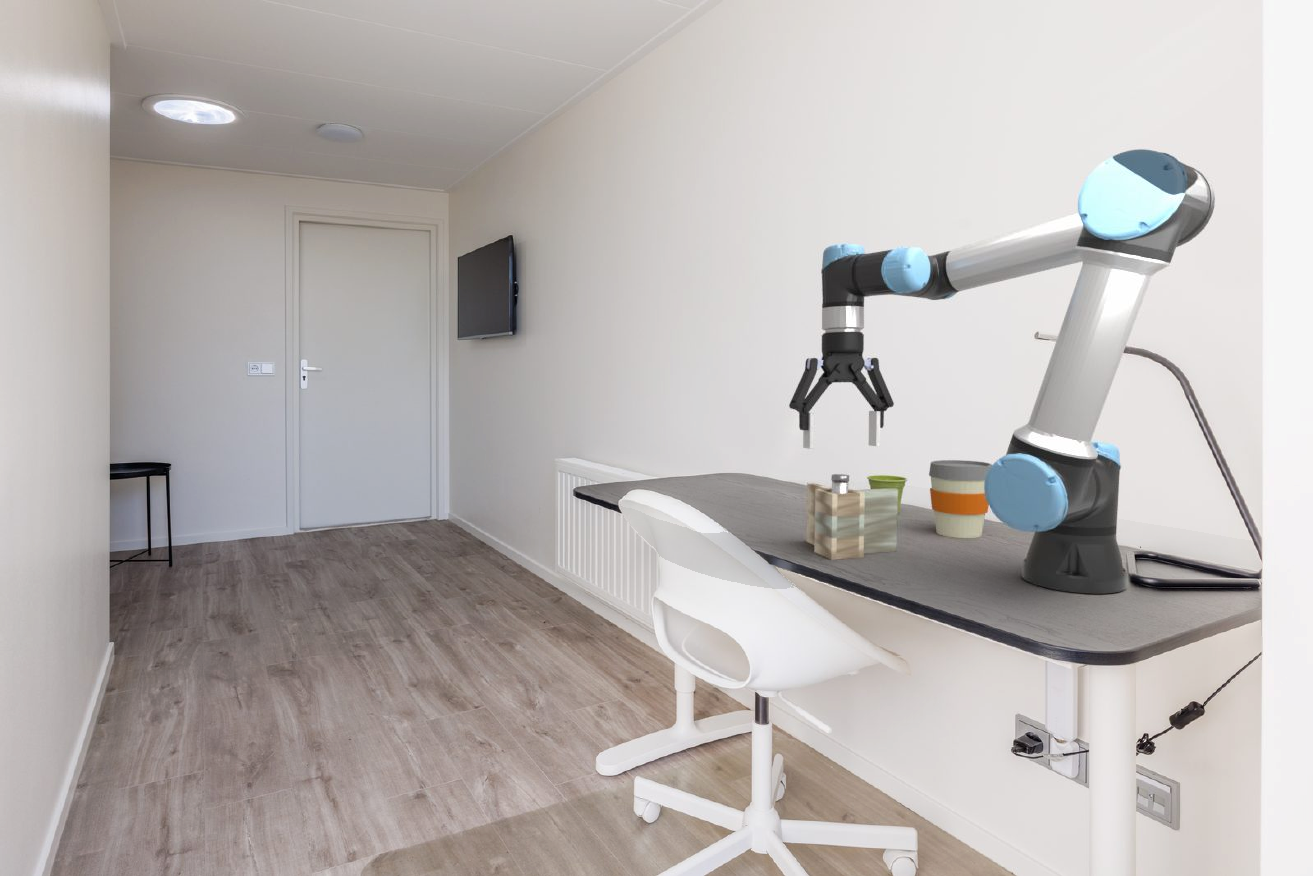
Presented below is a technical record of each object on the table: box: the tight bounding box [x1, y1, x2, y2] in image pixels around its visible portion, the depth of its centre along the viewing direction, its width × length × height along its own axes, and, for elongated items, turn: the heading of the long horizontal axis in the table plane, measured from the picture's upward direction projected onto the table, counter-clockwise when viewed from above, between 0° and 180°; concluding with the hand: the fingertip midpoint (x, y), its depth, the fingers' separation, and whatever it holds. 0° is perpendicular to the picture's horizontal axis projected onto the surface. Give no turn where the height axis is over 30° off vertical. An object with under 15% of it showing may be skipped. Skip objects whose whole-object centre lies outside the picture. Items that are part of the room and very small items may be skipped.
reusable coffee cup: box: [928, 459, 993, 539], centre depth 166 cm, size 12×13×15 cm
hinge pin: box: [830, 473, 850, 494], centre depth 147 cm, size 3×3×15 cm
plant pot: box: [866, 474, 908, 515], centre depth 191 cm, size 9×9×9 cm
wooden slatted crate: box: [805, 482, 898, 561], centre depth 152 cm, size 15×15×12 cm
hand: (841, 447), depth 145 cm, fingers open, 13 cm apart
